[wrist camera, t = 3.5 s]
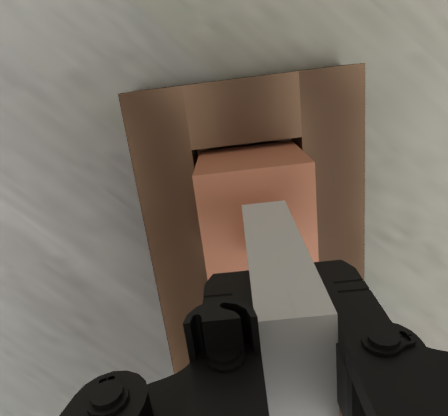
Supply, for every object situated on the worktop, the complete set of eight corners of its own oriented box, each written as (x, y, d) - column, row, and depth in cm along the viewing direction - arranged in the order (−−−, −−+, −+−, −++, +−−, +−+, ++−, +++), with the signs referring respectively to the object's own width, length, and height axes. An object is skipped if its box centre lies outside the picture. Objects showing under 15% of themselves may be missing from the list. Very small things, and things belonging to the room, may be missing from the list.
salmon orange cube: (211, 235, 20) (208, 282, 16) (200, 151, 19) (192, 176, 14) (297, 226, 20) (319, 271, 15) (291, 140, 19) (314, 162, 14)
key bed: (197, 426, 28) (194, 473, 25) (135, 91, 20) (118, 93, 17) (346, 413, 28) (363, 459, 24) (341, 65, 20) (365, 63, 17)
